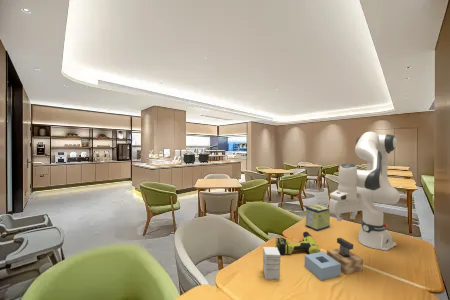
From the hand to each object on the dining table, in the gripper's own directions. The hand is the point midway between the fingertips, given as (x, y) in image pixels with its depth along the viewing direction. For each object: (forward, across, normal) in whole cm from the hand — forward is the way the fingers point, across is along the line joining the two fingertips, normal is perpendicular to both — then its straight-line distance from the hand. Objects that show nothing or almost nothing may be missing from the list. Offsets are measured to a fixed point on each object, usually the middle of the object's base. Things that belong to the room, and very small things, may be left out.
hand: (345, 219), depth 112 cm
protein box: (+25, -23, -45) cm, 57 cm away
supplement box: (+26, +42, -5) cm, 49 cm away
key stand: (+25, 0, 0) cm, 25 cm away
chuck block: (+25, +15, 0) cm, 29 cm away
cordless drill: (+26, +12, -25) cm, 38 cm away
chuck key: (+25, 0, 0) cm, 25 cm away
